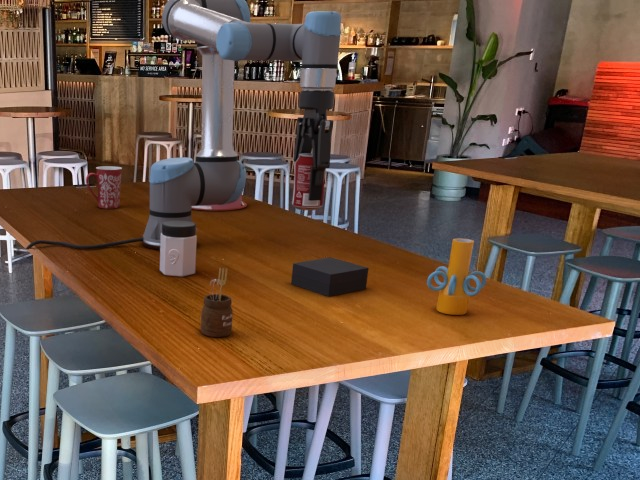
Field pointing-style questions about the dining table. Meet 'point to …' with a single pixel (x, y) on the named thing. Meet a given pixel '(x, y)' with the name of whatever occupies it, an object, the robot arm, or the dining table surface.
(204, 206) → the cake
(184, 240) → the jar
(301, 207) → the soda can
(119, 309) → the dining table surface
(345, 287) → the pad bottom
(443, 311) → the cylinder
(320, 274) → the pad top
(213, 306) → the utensil holder
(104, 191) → the mug
